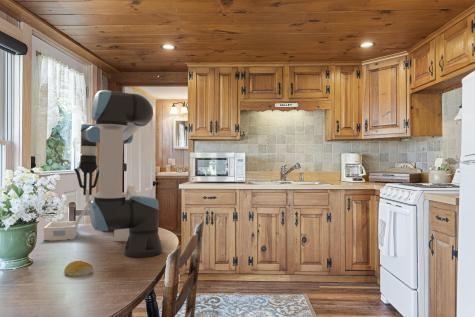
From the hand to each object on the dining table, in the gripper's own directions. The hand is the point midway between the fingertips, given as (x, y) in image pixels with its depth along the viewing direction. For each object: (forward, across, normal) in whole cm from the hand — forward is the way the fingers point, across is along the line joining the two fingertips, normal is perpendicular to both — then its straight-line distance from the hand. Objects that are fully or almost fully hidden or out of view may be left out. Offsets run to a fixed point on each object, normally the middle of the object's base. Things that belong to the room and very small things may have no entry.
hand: (87, 201), depth 179 cm
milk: (+17, -21, +12) cm, 29 cm away
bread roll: (+17, -3, +63) cm, 66 cm away
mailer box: (+17, +11, 0) cm, 20 cm away
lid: (+4, +2, 0) cm, 5 cm away
